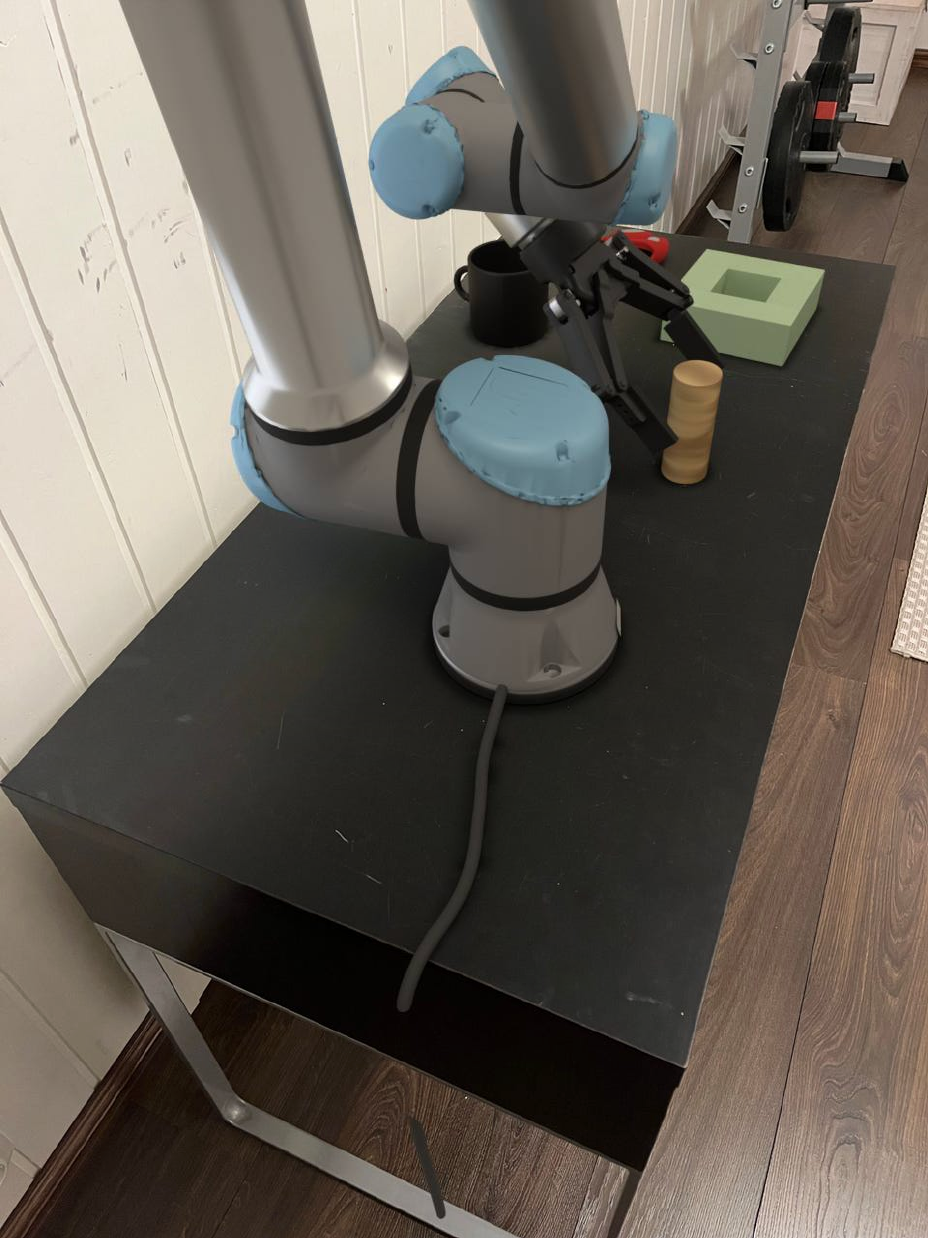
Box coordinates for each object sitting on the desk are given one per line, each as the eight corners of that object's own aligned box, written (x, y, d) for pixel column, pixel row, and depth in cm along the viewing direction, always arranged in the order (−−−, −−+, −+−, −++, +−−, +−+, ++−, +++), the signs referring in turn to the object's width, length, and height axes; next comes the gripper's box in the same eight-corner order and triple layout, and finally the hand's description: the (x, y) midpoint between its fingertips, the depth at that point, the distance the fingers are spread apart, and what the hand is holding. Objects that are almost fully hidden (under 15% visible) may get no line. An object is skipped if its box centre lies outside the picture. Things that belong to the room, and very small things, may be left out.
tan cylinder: (697, 489, 91) (713, 389, 83) (654, 477, 93) (666, 378, 85) (712, 464, 94) (729, 365, 86) (670, 453, 95) (683, 355, 87)
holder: (782, 366, 105) (790, 325, 102) (660, 339, 111) (664, 299, 107) (816, 309, 114) (825, 269, 110) (701, 287, 119) (706, 248, 116)
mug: (473, 300, 120) (470, 229, 113) (560, 317, 116) (562, 245, 109) (438, 334, 114) (432, 262, 108) (528, 354, 110) (528, 280, 103)
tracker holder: (629, 225, 130) (685, 229, 123) (627, 259, 132) (682, 265, 125) (564, 230, 124) (619, 234, 116) (563, 266, 126) (617, 272, 118)
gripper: (511, 258, 73) (675, 465, 78) (631, 145, 87) (763, 325, 93) (455, 308, 78) (612, 498, 84) (577, 194, 93) (704, 362, 98)
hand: (691, 408), depth 88 cm, fingers open, 13 cm apart
